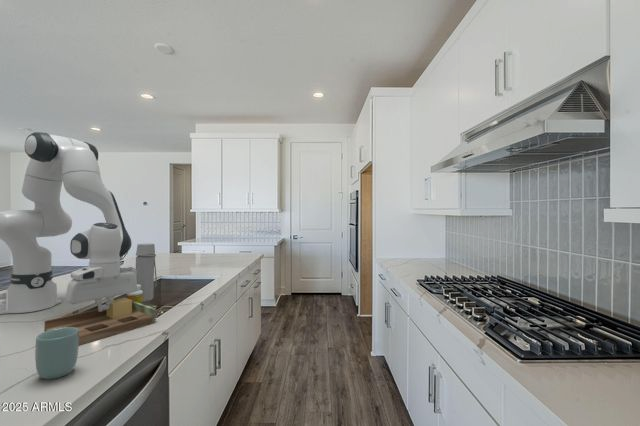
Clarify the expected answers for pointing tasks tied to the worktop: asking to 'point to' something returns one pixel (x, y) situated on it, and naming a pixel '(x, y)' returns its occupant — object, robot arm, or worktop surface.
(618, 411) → the worktop surface
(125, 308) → the block
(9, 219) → the robot arm
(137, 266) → the water bottle
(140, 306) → the box
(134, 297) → the supplement bottle
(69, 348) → the cup
